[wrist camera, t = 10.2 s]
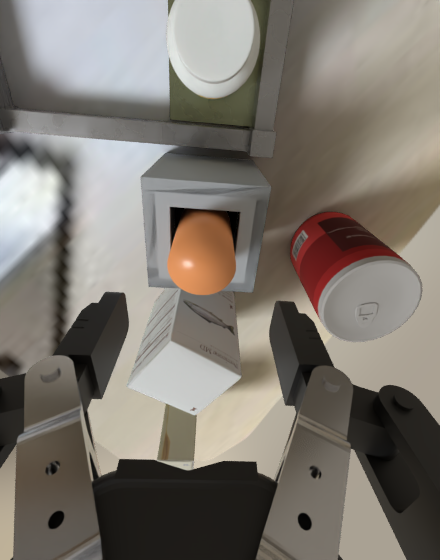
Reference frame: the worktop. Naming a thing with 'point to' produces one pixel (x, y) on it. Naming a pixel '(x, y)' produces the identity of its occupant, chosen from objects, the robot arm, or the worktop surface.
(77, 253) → the worktop surface
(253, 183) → the cabinet
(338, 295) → the canned food
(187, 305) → the supplement box
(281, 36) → the grey rectangular tray
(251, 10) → the supplement bottle
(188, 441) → the skincare box
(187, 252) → the brown egg
